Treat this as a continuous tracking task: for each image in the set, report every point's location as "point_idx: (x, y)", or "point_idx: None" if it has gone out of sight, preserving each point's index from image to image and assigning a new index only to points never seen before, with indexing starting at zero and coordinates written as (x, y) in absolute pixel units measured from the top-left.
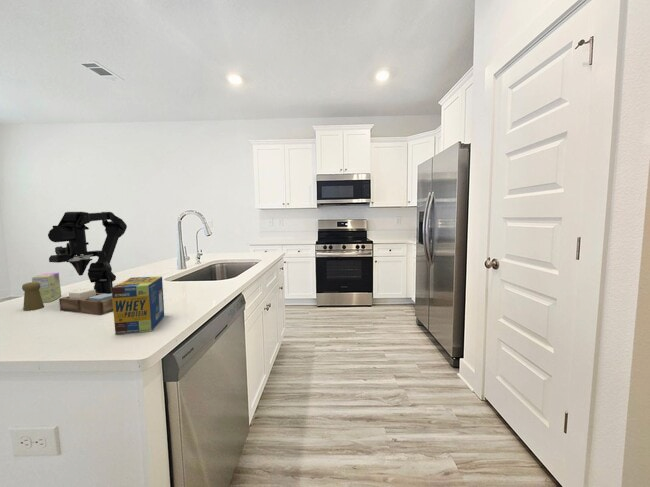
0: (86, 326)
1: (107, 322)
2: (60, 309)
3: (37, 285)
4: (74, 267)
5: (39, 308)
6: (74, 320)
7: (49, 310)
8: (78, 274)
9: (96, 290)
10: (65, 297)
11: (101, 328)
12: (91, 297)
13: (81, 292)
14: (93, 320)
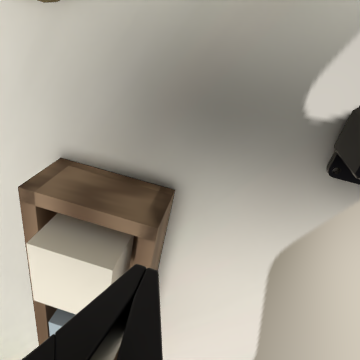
0: (5, 321)
1: (37, 345)
2: (57, 161)
3: None
4: (33, 355)
5: (42, 1)
6: (16, 278)
7: (46, 100)
8: (128, 270)
9: (349, 146)
10: (40, 204)
11: (11, 348)
12: (52, 329)
13: (46, 300)
14: (34, 316)
